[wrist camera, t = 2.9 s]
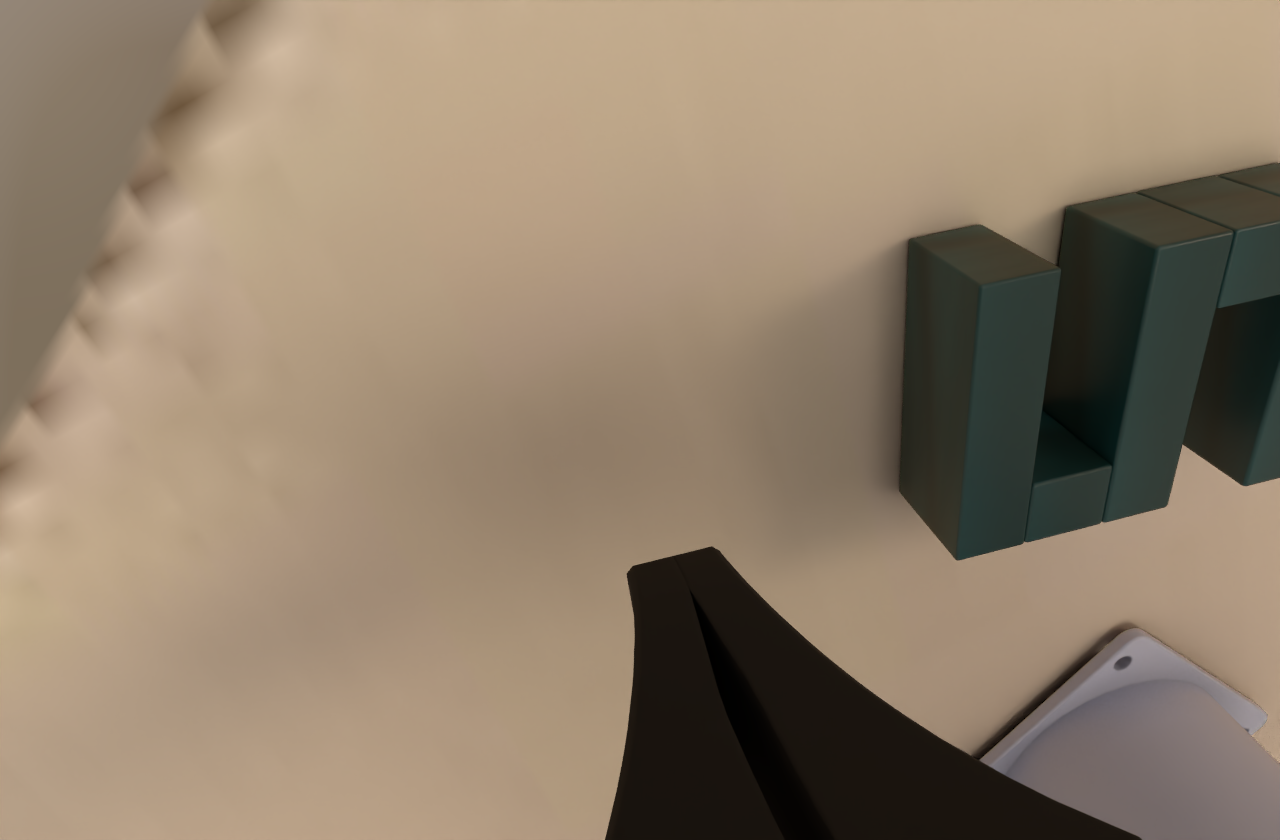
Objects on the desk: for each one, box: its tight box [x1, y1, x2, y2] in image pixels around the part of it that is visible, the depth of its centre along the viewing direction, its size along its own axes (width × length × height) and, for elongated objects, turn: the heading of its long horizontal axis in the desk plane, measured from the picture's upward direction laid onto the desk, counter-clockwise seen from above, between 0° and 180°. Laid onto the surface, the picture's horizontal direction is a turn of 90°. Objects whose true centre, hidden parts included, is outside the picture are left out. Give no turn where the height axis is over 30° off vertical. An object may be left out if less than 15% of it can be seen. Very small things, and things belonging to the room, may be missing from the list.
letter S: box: [899, 163, 1280, 560], centre depth 17 cm, size 8×6×2 cm
